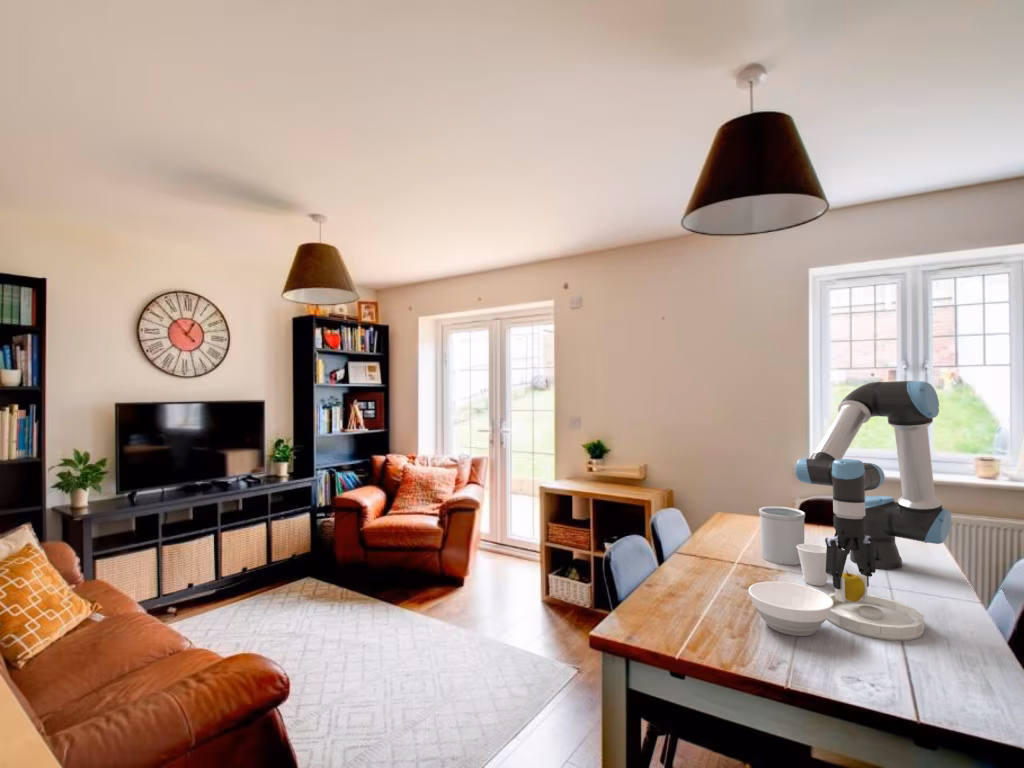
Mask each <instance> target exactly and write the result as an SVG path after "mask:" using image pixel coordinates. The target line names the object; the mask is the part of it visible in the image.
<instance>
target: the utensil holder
mask: <svg viewBox="0 0 1024 768" xmlns="http://www.w3.org/2000/svg"><path fill="white" fill-rule="evenodd" d="M758 514H759V523H760V525H759V527H760V549H761V550H760V551H761V557H762V558H763V559H764V560H765V561H768V562H770V563H774V564H778V565H787V566H796V565H801V562H800V558H799V553H798V548H797V545H799V544H805V518H806V512H804V511H802V510H800V509H797V508H793V507H787V506H762V507H759V509H758Z"/></svg>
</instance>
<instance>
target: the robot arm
mask: <svg viewBox="0 0 1024 768" xmlns="http://www.w3.org/2000/svg"><path fill="white" fill-rule="evenodd" d="M837 412H838V414H837V415H836V417H835V418H834V420H833V421H832V423H831V424H830V426H829V428H828V429H827V431H826V433H825V434H824V436H823V437H822V439H821V440H820V441H819V444H818V445H817V447H816V448H815V450H814V451H813V453H812V454H811V456H810V458H808V457H805V458H800V459H798V460H797V462H796V464H795V467H794V472H795V473H794V474H795V476H796V478H797V480H798V481H799V482H802V483H807V484H811V485H819V486H827V487H832V506H833V507H832V509H833V510H832V511H833V514H834V515H833V516H832V517H833V519H832V521H833V528H834V529H835V533H834V536H833V537H830V538H829V537H826V538H825V539H824V541H825V545H826V547H827V551H826V573H827V574H828V575H830V576H832V586H833V587H832V588H833V589H834V593H835V599H837V600H839V601H841V602H845V578H843V577H842V574H843V573H844V569H845V565H846V562H847V558H848V555H849V559H850V561H852V562H853V563H855V564H856V566H857V569H858V573H856V576H858V577H860V578H861V579H862V581H863V583H864V587H865V590H864V593H863V596H862V597H861V599H863V600H865V601H866V600H868V595H869V594H868V588H869V585H870V583H869V580H870V578H871V577H873V574H875V573H876V570H877V569H881V570H882V569H883V570H896V569H901V568H902V567H903V559H902V556H901V555H900V552H899V549H898V546H897V544H896V543H897V542H896V537H897V538H902V539H905V540H911V541H917V542H923V543H925V544H928V543H929V544H934V545H935V544H936V545H939V544H940V545H941V544H943V543H944V542H945V541H946V540H947V538H948V535H949V534H950V531H951V523H952V514H951V511H950V510H949V509H947V508H943V502H942V500H940V499H939V498H937V497H936V492H935V483H934V474H933V467H932V457H931V455H932V454H931V449H930V438H929V432H928V431H929V430H928V427H929V426H930V425H931V424H933V422H934V418H936V417H938V415H939V412H940V401H939V397H938V394H937V391H936V390H935V387H934V386H933V385H932V384H930V382H928V381H924V380H922V381H920V380H916V381H915V380H898V381H872V382H868V383H866V384H863V385H861V386H859V387H857V388H855V389H854V390H853V391H850V392H849V393H848V394H847V395H846V396H845V397H843V399H842V401H841V402H840V403H839V405H838V408H837ZM873 417H887V423H888V425H890V426H891V427H893V428H894V436H895V444H896V452H897V453H896V454H897V459H898V460H897V461H898V468H899V469H898V470H899V478H900V485H901V494H902V496H900V497H899V498H898V499H897V501H896V499H895V498H894V497H893V496H889V495H867V496H866V492H867V491H872V490H875V489H877V488H879V487H881V486H882V485H883V484H884V482H885V479H886V478H885V477H886V476H885V472H884V471H883V469H882V467H880V466H879V465H877V464H875V463H871V462H863V461H862V460H859V459H850V458H849V459H848V458H843V457H844V456H845V454H846V452H847V451H848V449H849V448H850V446H851V444H852V443H853V441H854V439H855V437H856V436H857V434H858V432H859V431H860V429H861V427H862V425H863V424H866V423H867V422H868V421H869V420H870V419H871V418H873ZM867 594H868V595H867Z"/></svg>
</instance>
